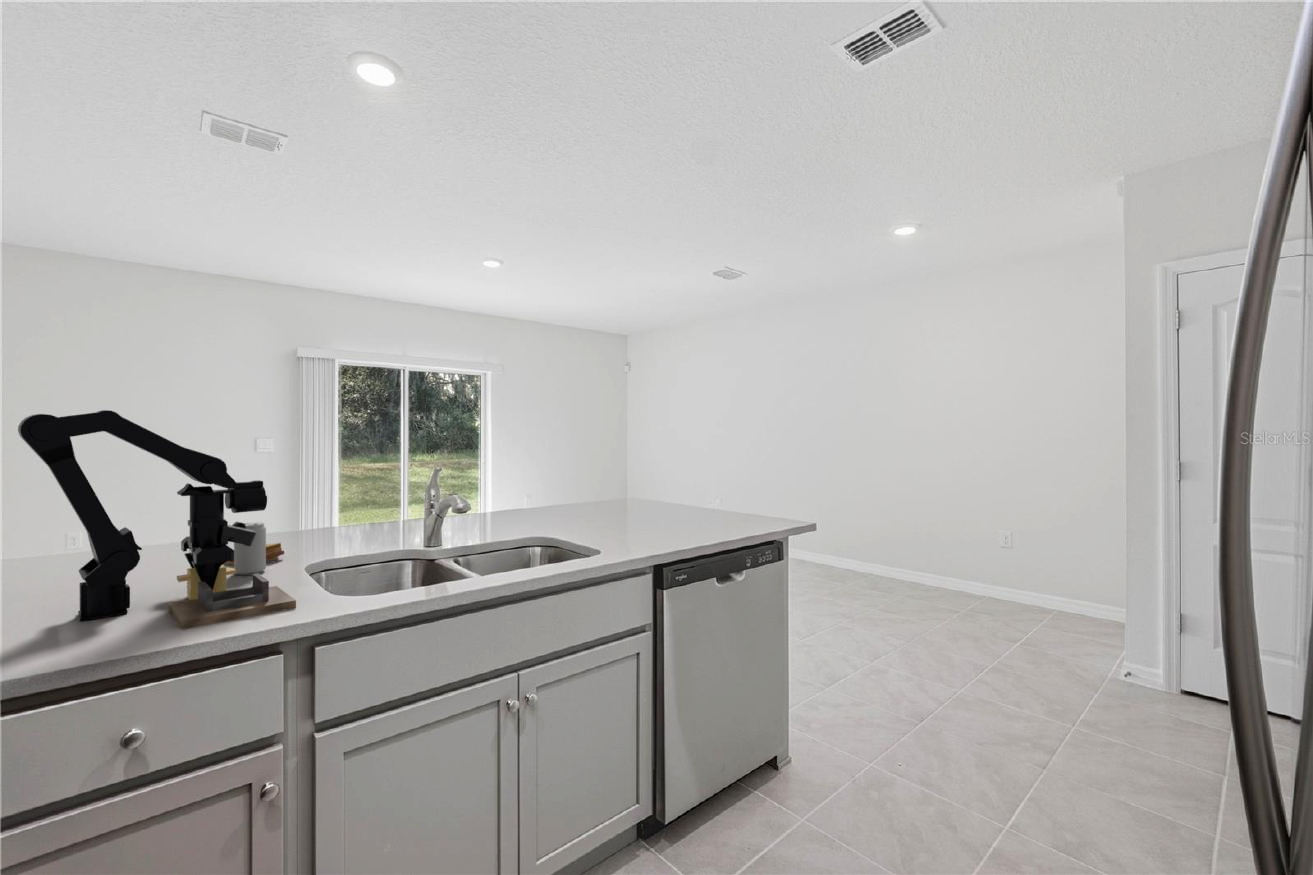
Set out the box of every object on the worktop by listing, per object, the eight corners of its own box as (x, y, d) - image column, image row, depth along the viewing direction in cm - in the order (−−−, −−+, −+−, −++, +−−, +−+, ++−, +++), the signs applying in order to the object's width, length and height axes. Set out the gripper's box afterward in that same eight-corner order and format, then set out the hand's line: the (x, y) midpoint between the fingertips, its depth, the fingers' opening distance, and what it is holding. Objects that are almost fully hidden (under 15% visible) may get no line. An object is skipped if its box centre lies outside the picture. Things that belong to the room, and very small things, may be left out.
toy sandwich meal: (260, 554, 162) (260, 537, 162) (292, 559, 156) (292, 542, 156) (211, 563, 150) (211, 545, 150) (243, 570, 145) (243, 551, 145)
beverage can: (249, 576, 138) (249, 526, 138) (227, 574, 139) (227, 525, 139) (272, 570, 144) (272, 522, 144) (250, 568, 146) (250, 520, 145)
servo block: (179, 603, 118) (179, 574, 118) (176, 598, 121) (176, 570, 121) (236, 593, 125) (236, 566, 125) (232, 589, 128) (232, 562, 128)
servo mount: (181, 629, 103) (181, 599, 103) (169, 611, 113) (169, 583, 113) (296, 607, 117) (296, 580, 116) (276, 592, 126) (276, 567, 126)
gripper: (263, 517, 122) (263, 590, 122) (242, 507, 135) (242, 573, 135) (196, 522, 114) (196, 601, 114) (180, 511, 127) (180, 582, 127)
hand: (206, 588), depth 123 cm, fingers open, 5 cm apart
